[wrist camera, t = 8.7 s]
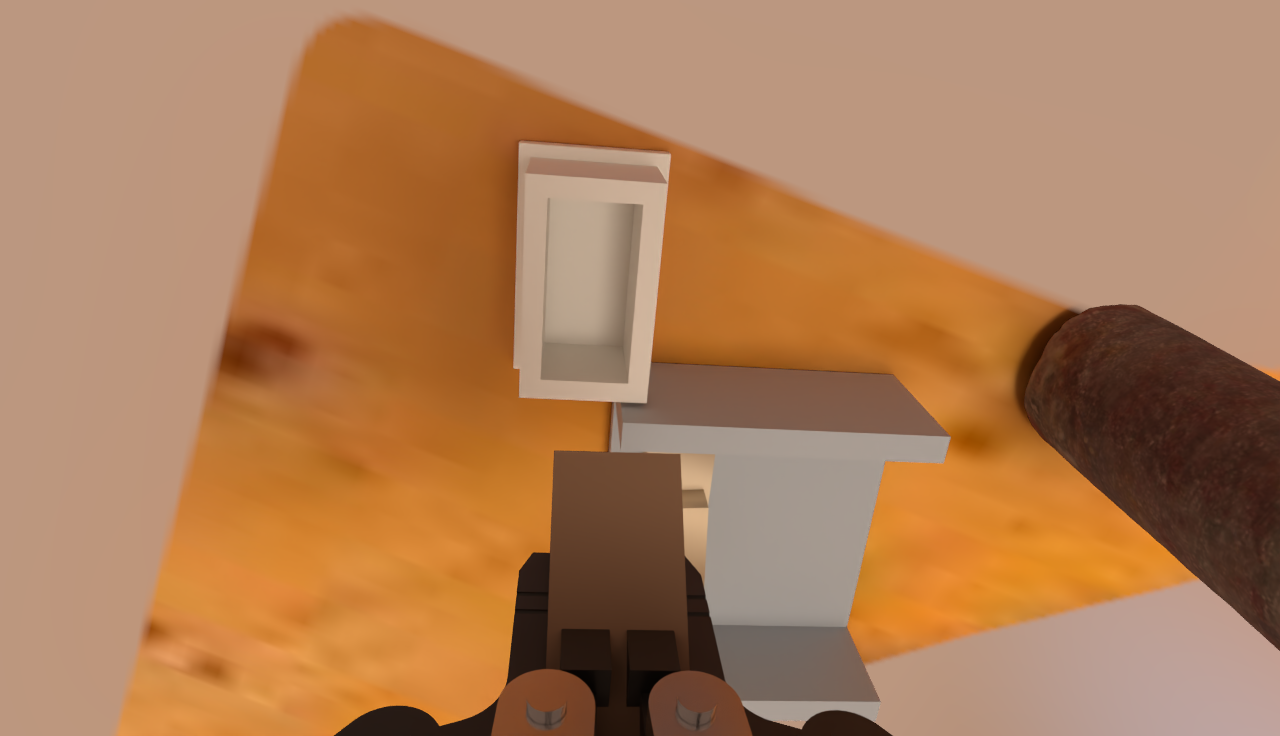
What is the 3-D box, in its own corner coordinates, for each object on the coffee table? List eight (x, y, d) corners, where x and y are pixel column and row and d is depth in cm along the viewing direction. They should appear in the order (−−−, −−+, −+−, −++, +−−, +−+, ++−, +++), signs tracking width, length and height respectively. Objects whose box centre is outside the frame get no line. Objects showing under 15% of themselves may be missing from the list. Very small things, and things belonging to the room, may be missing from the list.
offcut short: (641, 490, 35) (643, 509, 34) (703, 489, 35) (708, 507, 34) (639, 599, 38) (641, 621, 36) (697, 597, 38) (702, 618, 36)
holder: (520, 140, 32) (511, 157, 27) (668, 151, 32) (683, 170, 28) (514, 361, 35) (505, 408, 31) (648, 368, 36) (658, 415, 32)
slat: (547, 605, 23) (554, 450, 12) (616, 606, 23) (680, 454, 13) (540, 802, 21) (540, 817, 10) (617, 801, 21) (696, 814, 10)
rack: (615, 360, 36) (622, 422, 30) (893, 374, 37) (950, 436, 31) (595, 625, 41) (597, 719, 36) (835, 629, 43) (875, 721, 37)
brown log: (1105, 462, 40) (1559, 831, 21) (981, 420, 38) (1354, 778, 20) (1195, 327, 37) (1800, 614, 19) (1066, 276, 36) (1584, 535, 17)
